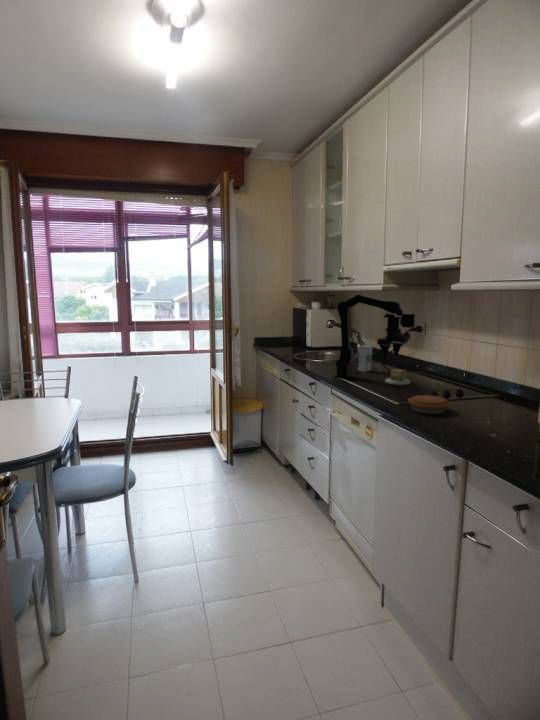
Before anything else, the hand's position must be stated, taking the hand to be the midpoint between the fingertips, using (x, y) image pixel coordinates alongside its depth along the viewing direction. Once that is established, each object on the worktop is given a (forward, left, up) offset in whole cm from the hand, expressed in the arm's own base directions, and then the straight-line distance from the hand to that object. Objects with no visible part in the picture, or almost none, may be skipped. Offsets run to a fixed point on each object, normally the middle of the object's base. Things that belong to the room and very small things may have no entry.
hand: (391, 357), depth 227 cm
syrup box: (+15, +25, -12) cm, 31 cm away
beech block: (-1, -5, -11) cm, 12 cm away
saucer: (-1, -5, -12) cm, 13 cm away
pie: (-40, -40, -12) cm, 58 cm away
